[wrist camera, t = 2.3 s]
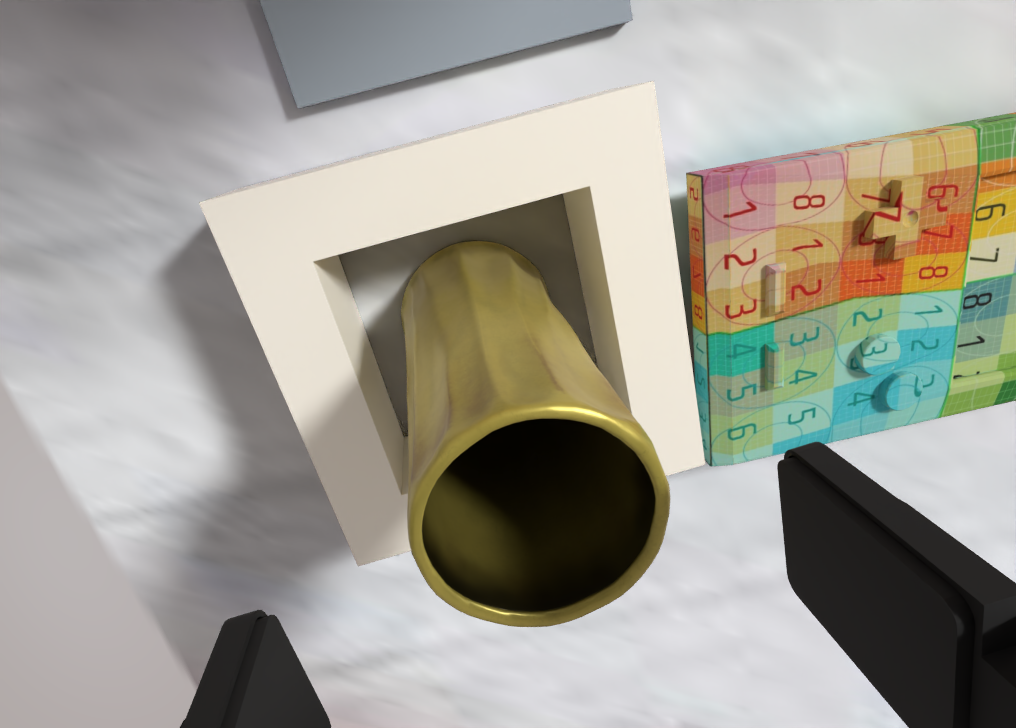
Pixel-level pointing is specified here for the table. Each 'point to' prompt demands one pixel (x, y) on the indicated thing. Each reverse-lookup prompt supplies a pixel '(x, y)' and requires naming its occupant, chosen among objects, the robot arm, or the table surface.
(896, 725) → the table surface
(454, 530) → the vase
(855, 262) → the puzzle game
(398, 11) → the mat
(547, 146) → the well board
